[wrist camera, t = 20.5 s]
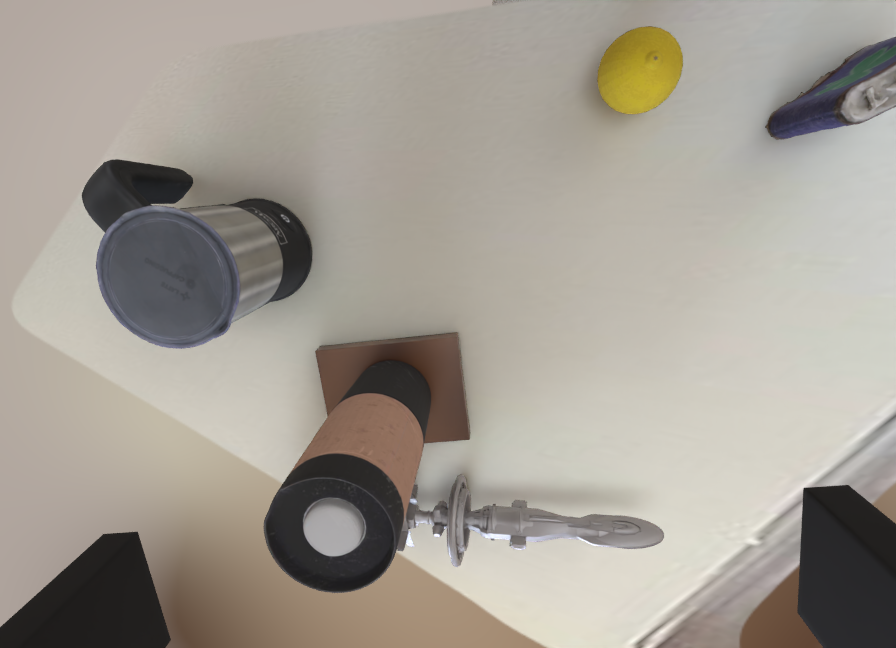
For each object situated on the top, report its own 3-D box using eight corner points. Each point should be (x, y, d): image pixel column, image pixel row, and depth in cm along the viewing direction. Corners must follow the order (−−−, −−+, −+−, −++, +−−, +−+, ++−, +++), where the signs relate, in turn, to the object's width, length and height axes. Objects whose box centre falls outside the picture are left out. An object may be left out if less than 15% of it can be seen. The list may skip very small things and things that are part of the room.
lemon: (672, 60, 40) (716, 30, 33) (640, 131, 42) (674, 117, 34) (607, 33, 40) (635, -4, 33) (576, 105, 42) (597, 85, 34)
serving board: (457, 332, 47) (457, 336, 46) (470, 432, 50) (469, 439, 48) (320, 346, 48) (315, 350, 47) (338, 443, 51) (334, 450, 49)
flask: (870, 39, 39) (1009, -13, 29) (889, 72, 40) (1031, 33, 29) (758, 120, 41) (850, 97, 31) (777, 150, 42) (874, 139, 31)
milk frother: (331, 232, 46) (261, 251, 31) (261, 377, 50) (171, 453, 35) (186, 151, 45) (44, 133, 31) (126, 305, 49) (-23, 353, 35)
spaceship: (665, 603, 44) (680, 552, 39) (280, 567, 50) (253, 520, 45) (650, 519, 50) (662, 466, 45) (309, 496, 56) (288, 448, 51)
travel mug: (445, 423, 48) (417, 580, 29) (368, 442, 49) (291, 607, 30) (419, 346, 46) (371, 459, 27) (340, 368, 47) (239, 492, 28)
